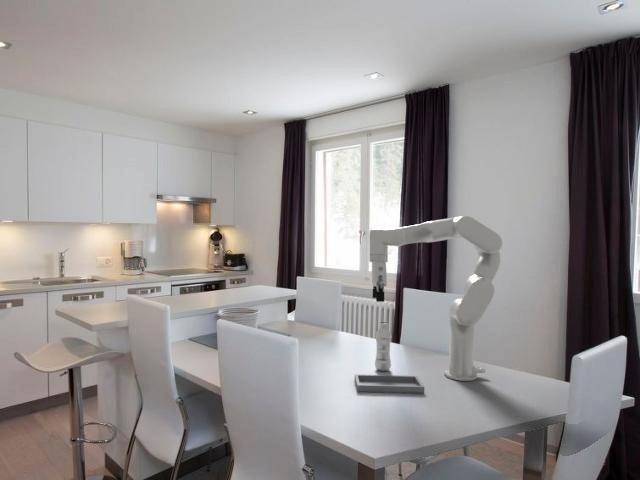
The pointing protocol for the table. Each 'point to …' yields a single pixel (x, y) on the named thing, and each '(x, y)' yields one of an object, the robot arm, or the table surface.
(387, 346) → the plastic bottle
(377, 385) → the grey rectangular tray
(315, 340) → the table surface
